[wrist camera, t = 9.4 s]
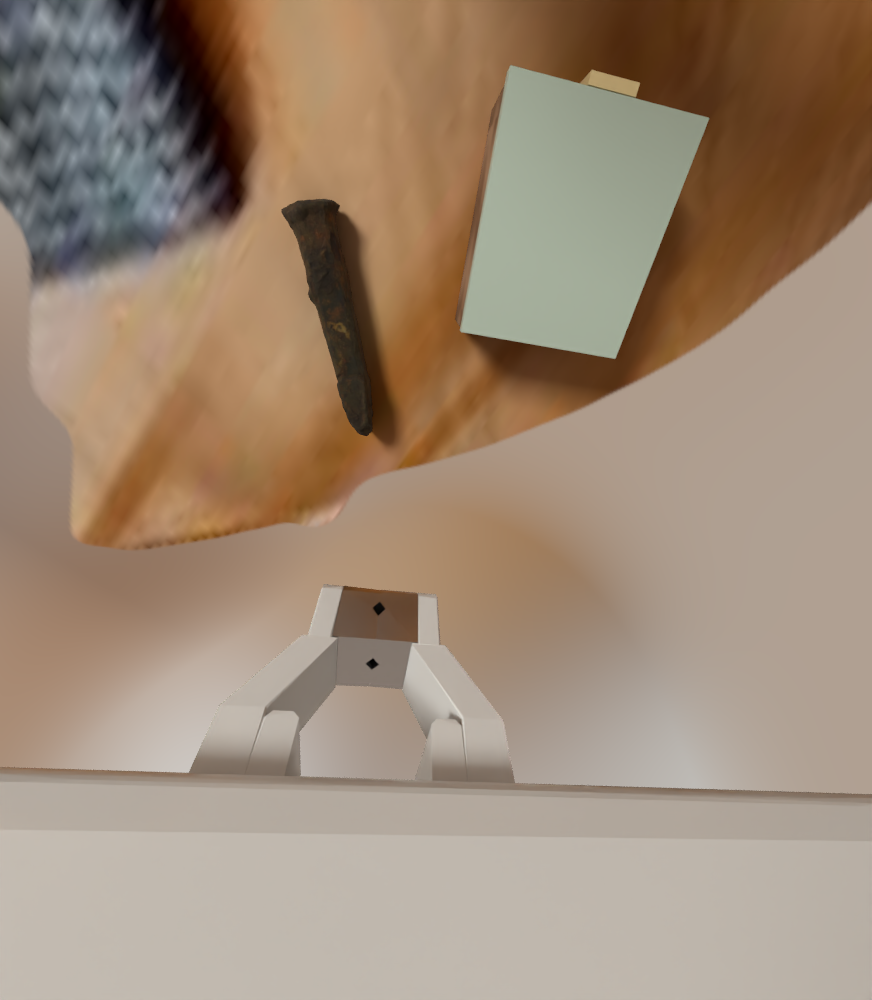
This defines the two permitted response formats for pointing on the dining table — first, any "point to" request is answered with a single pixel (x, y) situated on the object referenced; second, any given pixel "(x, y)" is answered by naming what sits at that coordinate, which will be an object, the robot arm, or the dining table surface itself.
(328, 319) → the dark brown rough bar
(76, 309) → the dining table surface
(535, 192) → the lid
